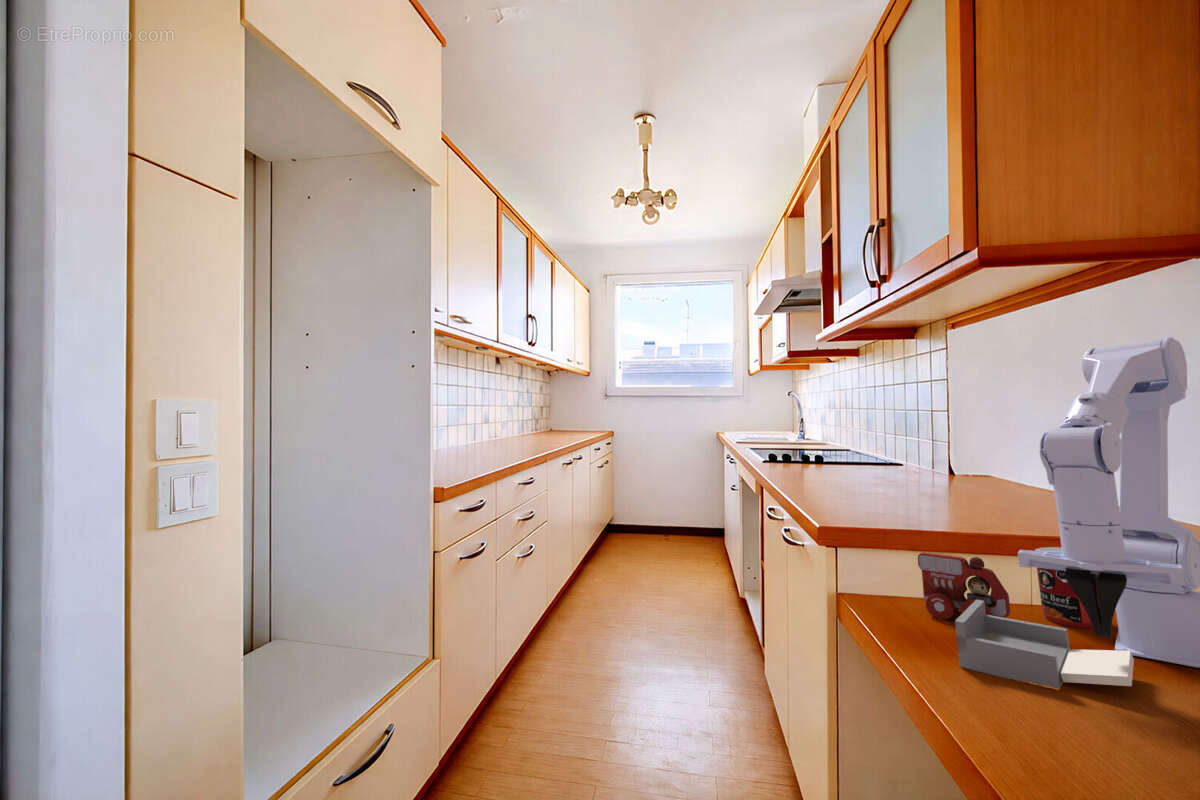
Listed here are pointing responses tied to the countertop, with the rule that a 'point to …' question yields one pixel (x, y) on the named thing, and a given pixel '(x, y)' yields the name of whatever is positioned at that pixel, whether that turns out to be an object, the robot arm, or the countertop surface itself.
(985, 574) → the toy fire truck
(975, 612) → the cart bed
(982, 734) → the countertop surface
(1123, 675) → the panel
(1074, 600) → the canned food
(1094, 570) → the robot arm
